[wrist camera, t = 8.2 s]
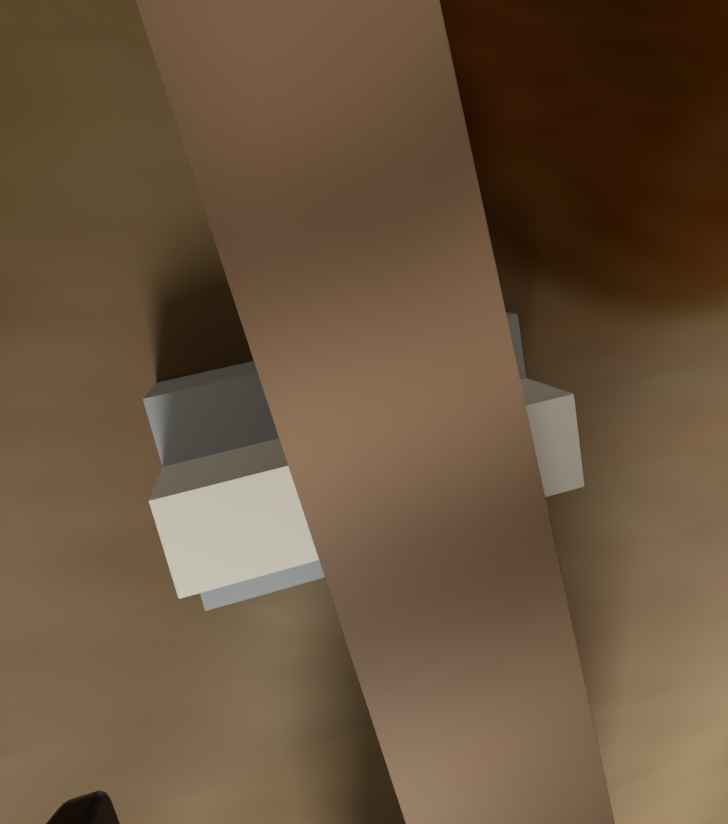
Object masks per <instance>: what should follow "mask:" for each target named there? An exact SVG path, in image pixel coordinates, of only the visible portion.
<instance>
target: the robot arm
mask: <svg viewBox="0 0 728 824" xmlns="http://www.w3.org/2000/svg"><path fill="white" fill-rule="evenodd" d="M46 824H120V823H119V820H118V818H117V815H116V812H115V809H114V807H113V804H112V801H111V799H110V797H109V796H108V794H107V793H106V792H104V791H96V792H92V793H89V794H86V795H83V796H80V797H76V798H73V799H71V800H68V801H66V802H65V803H64V804H63V805H62V806H61V807H60V808H59V809H58V810H57V811H56V812H55V814H54V815H53V816H52V817H51V818H50V820H49V821H48V822H47V823H46Z"/></svg>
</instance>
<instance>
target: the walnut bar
mask: <svg viewBox="0 0 728 824" xmlns="http://www.w3.org/2000/svg"><path fill="white" fill-rule="evenodd" d="M136 3H137V6H138V9H139V12H140V15H141V18H142V21H143V25H144V28H145V31H146V34H147V37H148V40H149V43H150V46H151V49H152V52H153V55H154V58H155V61H156V64H157V67H158V70H159V73H160V76H161V79H162V82H163V85H164V88H165V92H166V95H167V98H168V101H169V104H170V107H171V110H172V113H173V116H174V119H175V122H176V125H177V128H178V131H179V134H180V137H181V140H182V143H183V146H184V149H185V152H186V156H187V159H188V162H189V165H190V168H191V171H192V174H193V177H194V180H195V183H196V186H197V189H198V192H199V195H200V198H201V201H202V204H203V207H204V210H205V213H206V216H207V220H208V223H209V226H210V229H211V232H212V235H213V238H214V241H215V244H216V247H217V250H218V253H219V256H220V259H221V262H222V265H223V268H224V271H225V274H226V277H227V280H228V283H229V287H230V290H231V293H232V296H233V299H234V302H235V305H236V308H237V311H238V314H239V317H240V320H241V323H242V326H243V329H244V332H245V335H246V338H247V341H248V344H249V347H250V351H251V354H252V357H253V360H254V363H255V366H256V369H257V372H258V375H259V378H260V381H261V384H262V387H263V390H264V393H265V396H266V399H267V402H268V405H269V408H270V411H271V414H272V418H273V421H274V424H275V427H276V430H277V433H278V436H279V439H280V442H281V445H282V448H283V451H284V454H285V457H286V460H287V463H288V466H289V469H290V472H291V475H292V478H293V482H294V485H295V488H296V491H297V494H298V497H299V500H300V503H301V506H302V509H303V512H304V515H305V518H306V521H307V524H308V527H309V530H310V533H311V536H312V539H313V542H314V546H315V549H316V552H317V555H318V558H319V561H320V564H321V567H322V570H323V573H324V576H325V579H326V582H327V585H328V588H329V591H330V594H331V597H332V600H333V603H334V606H335V609H336V613H337V616H338V619H339V622H340V625H341V628H342V631H343V634H344V637H345V640H346V643H347V646H348V649H349V652H350V655H351V658H352V661H353V664H354V667H355V670H356V673H357V677H358V680H359V683H360V686H361V689H362V692H363V695H364V698H365V701H366V704H367V707H368V710H369V713H370V716H371V719H372V722H373V725H374V728H375V731H376V734H377V737H378V740H379V744H380V747H381V750H382V753H383V756H384V759H385V762H386V765H387V768H388V771H389V774H390V777H391V780H392V783H393V786H394V789H395V792H396V795H397V798H398V801H399V804H400V808H401V811H402V814H403V817H404V820H405V823H406V824H615V823H614V818H613V813H612V808H611V804H610V799H609V794H608V790H607V785H606V780H605V776H604V771H603V766H602V762H601V757H600V752H599V747H598V743H597V738H596V733H595V729H594V724H593V719H592V715H591V710H590V705H589V700H588V696H587V691H586V686H585V682H584V677H583V672H582V668H581V663H580V658H579V654H578V649H577V644H576V639H575V635H574V630H573V625H572V621H571V616H570V611H569V607H568V602H567V597H566V592H565V588H564V583H563V578H562V574H561V569H560V564H559V560H558V555H557V550H556V546H555V541H554V536H553V531H552V527H551V522H550V517H549V513H548V508H547V503H546V499H545V494H544V489H543V484H542V480H541V475H540V470H539V466H538V461H537V456H536V452H535V447H534V442H533V438H532V433H531V428H530V423H529V419H528V414H527V409H526V405H525V400H524V395H523V391H522V386H521V381H520V376H519V372H518V367H517V362H516V358H515V353H514V348H513V344H512V339H511V334H510V330H509V325H508V320H507V315H506V311H505V306H504V301H503V297H502V292H501V287H500V283H499V278H498V273H497V268H496V264H495V259H494V254H493V250H492V245H491V240H490V236H489V231H488V226H487V222H486V217H485V212H484V207H483V203H482V198H481V193H480V189H479V184H478V179H477V175H476V170H475V165H474V161H473V156H472V151H471V146H470V142H469V137H468V132H467V128H466V123H465V118H464V114H463V109H462V104H461V99H460V95H459V90H458V85H457V81H456V76H455V71H454V67H453V62H452V57H451V53H450V48H449V43H448V38H447V34H446V29H445V24H444V20H443V15H442V10H441V6H440V1H439V0H136Z"/></svg>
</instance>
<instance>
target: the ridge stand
mask: <svg viewBox="0 0 728 824" xmlns="http://www.w3.org/2000/svg"><path fill="white" fill-rule="evenodd" d="M506 315H507V320H508V325H509V330H510V334H511V339H512V344H513V348H514V353H515V358H516V362H517V367H518V372H519V376H520V381H521V386H522V391H523V395H524V400H525V405H526V409H527V414H528V419H529V423H530V428H531V433H532V438H533V442H534V447H535V452H536V456H537V461H538V466H539V470H540V475H541V480H542V484H543V489H544V494H545V497H548V496H552V495H555V494H559V493H563V492H566V491H570V490H573V489H577V488H581V487H584V479H583V470H582V461H581V453H580V444H579V435H578V426H577V418H576V409H575V400H574V394H573V393H570V392H567V391H564V390H561V389H558V388H555V387H552V386H549V385H546V384H543V383H540V382H537V381H534V380H531V379H528V378H526V372H525V365H524V357H523V350H522V342H521V335H520V328H519V320H518V314H515V313H507V312H506ZM143 402H144V405H145V408H146V412H147V415H148V419H149V422H150V425H151V429H152V432H153V435H154V439H155V442H156V446H157V449H158V452H159V456H160V459H161V463H162V466H163V467H162V470H161V472H160V475H159V477H158V480H157V482H156V484H155V487H154V489H153V492H152V494H151V497H150V499H149V503H150V507H151V510H152V513H153V516H154V520H155V523H156V526H157V530H158V533H159V536H160V539H161V543H162V546H163V549H164V552H165V556H166V559H167V562H168V565H169V569H170V572H171V575H172V579H173V582H174V585H175V588H176V592H177V595H178V598H179V599H181V598H184V597H188V596H191V595H195V594H199V593H200V595H201V598H202V601H203V605H204V608H205V611H207V610H211V609H214V608H218V607H221V606H225V605H229V604H232V603H236V602H239V601H243V600H246V599H250V598H253V597H257V596H260V595H264V594H268V593H271V592H275V591H278V590H282V589H285V588H289V587H292V586H296V585H299V584H303V583H306V582H310V581H314V580H317V579H321V578H324V577H325V576H324V573H323V570H322V567H321V564H320V561H319V558H318V555H317V552H316V549H315V546H314V542H313V539H312V536H311V533H310V530H309V527H308V524H307V521H306V518H305V515H304V512H303V509H302V506H301V503H300V500H299V497H298V494H297V491H296V488H295V485H294V482H293V478H292V475H291V472H290V469H289V466H288V463H287V460H286V457H285V454H284V451H283V448H282V445H281V442H280V439H279V436H278V433H277V430H276V427H275V424H274V421H273V418H272V414H271V411H270V408H269V405H268V402H267V399H266V396H265V393H264V390H263V387H262V384H261V381H260V378H259V375H258V372H257V369H256V366H255V363H254V361H251V362H247V363H242V364H238V365H233V366H229V367H224V368H220V369H215V370H211V371H206V372H202V373H198V374H193V375H189V376H184V377H180V378H175V379H171V380H166V381H162V382H157V383H155V385H154V386H153V387H152V388H151V389H150V391H149V392H148V393H147V394H146V396H145V397H144V398H143Z"/></svg>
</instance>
